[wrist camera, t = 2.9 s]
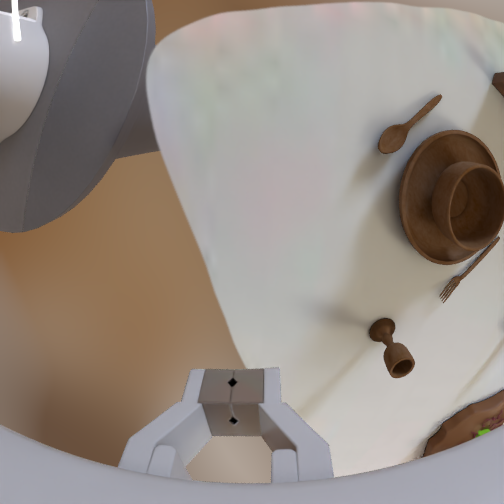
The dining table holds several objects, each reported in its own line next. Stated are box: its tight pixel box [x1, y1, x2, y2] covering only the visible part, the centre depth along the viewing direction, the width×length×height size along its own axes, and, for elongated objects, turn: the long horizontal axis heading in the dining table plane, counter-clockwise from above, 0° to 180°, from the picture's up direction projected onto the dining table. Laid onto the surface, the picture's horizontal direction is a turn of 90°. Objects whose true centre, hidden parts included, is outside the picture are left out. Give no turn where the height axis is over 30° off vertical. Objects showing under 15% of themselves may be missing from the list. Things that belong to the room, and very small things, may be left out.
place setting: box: [369, 94, 504, 378], centre depth 21 cm, size 18×20×6 cm
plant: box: [423, 390, 504, 457], centre depth 31 cm, size 20×20×11 cm
